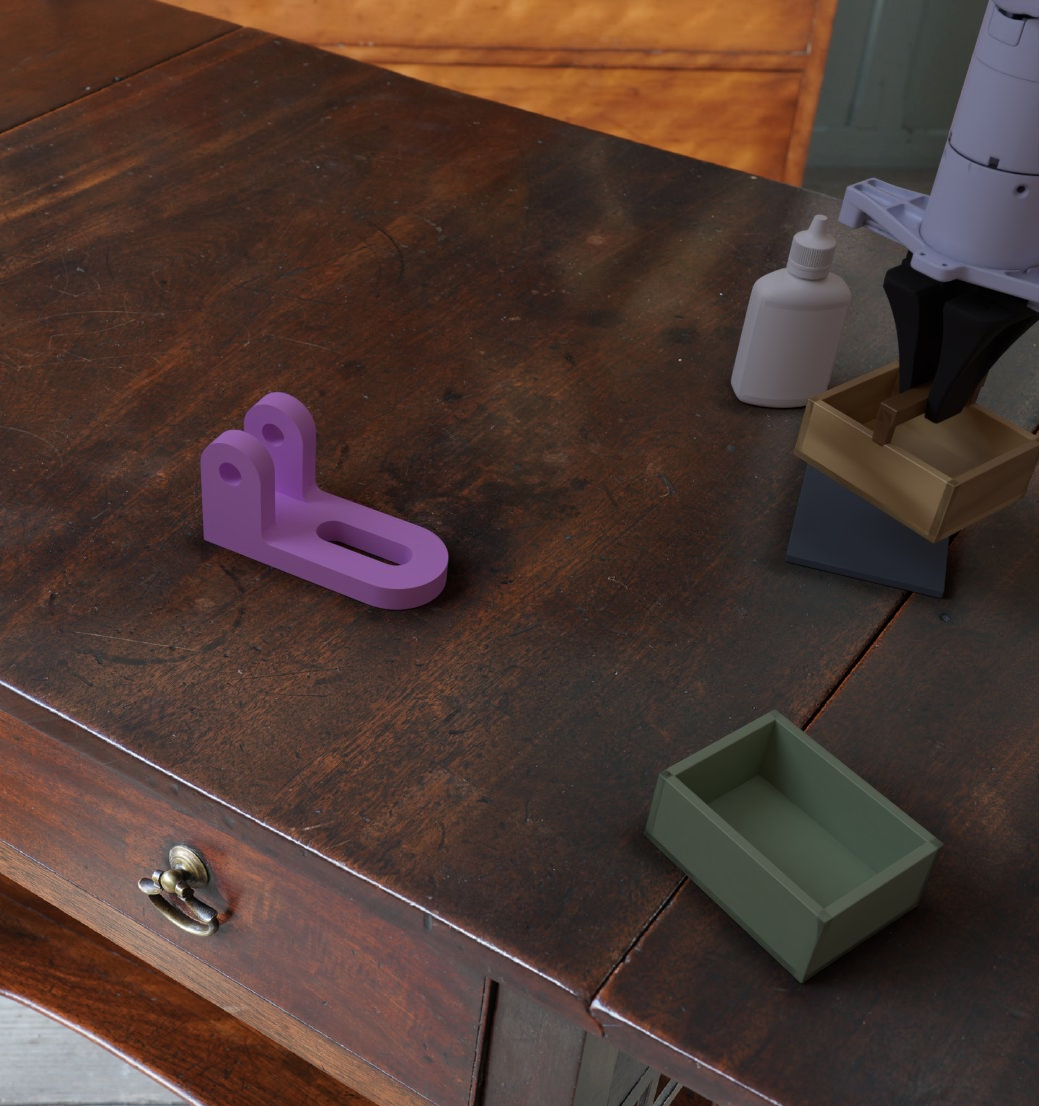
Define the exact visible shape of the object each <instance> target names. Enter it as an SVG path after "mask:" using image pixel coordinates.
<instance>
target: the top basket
mask: <svg viewBox="0 0 1039 1106" xmlns="http://www.w3.org/2000/svg"><path fill="white" fill-rule="evenodd" d="M989 372H990V370H989V371H988V373H987V374H986V375H985V377H984V378H983V379H982V381H981V382H980V383H979V385H978V386H977V388H976V389H975V391H974V392H973V394H972V395H971V397H970V398H969V400H968V401H967V403H966V405H965V406H964V408H963V410H962V412H961V413H959V414H957V415H955V416H953V417H951V418H949V419H947V420H944V421H942V422H940V423H938V424H936V423H933V422H931V421H929V420H927V419H926V418H924V415H925V409H926V403H927V398H928V395H929V392H930V389H931V387H932V384H933V381H934V379H932V380H930V381H928V382H926V383H923V384H921V385H919V386H917V387H914V388H912V389H910V390H908V391H905V392H903V393H901V394H899V359H896V360H895V361H893V362H890V363H887V364H885V365H883V366H881V367H878V368H877V369H874V370H871V371H870V372H867V373H865V374H862V375H860V376H857V377H855V378H853V379H851V380H848V381H846V382H844V383H841V384H839V385H836V386H834V387H832V388H830V389H829V388H828V389H827V391H825V392H822V393H820V394H818V395H815V396H813V397H811V398H809V399H808V401H807V405H806V406H805V409H804V412H803V416H802V420H801V424H800V427H799V431H798V435H797V439H796V443H795V447H794V449H793V452H792V453H793V455H794V456H795V457H797V458H799V459H800V460H802V461H804V462H805V463H806V464H807V463H808V464H810V465H811V466H813V467H814V468H816V469H818V470H819V471H821V472H822V473H824V474H825V475H827V476H829V477H830V478H832V479H833V480H835V481H836V482H838V483H839V484H841V485H843V486H844V487H846V488H847V489H849V490H850V491H852V492H853V493H855V494H857V495H858V496H860V497H861V498H863V499H864V500H866V501H868V502H869V503H871V504H872V505H874V506H875V507H877V508H878V509H880V510H882V511H883V512H885V513H886V514H888V515H889V516H891V517H893V518H894V519H896V520H897V521H899V522H900V523H902V524H903V525H905V526H907V527H908V528H910V529H911V530H913V531H914V532H916V533H918V534H919V535H921V536H922V537H924V538H925V539H927V540H928V541H930V542H932V543H933V544H935V543H937V542H939V541H941V540H942V539H944V538H946V537H948V536H949V537H951V536H952V535H954V534H956V533H958V532H960V531H961V530H964V529H966V528H967V527H970V526H971V525H974V524H975V523H977V522H979V521H981V520H983V519H985V518H987V517H989V516H990V515H993V514H995V513H996V512H998V511H1000V510H1003V509H1005V508H1006V507H1008V506H1010V505H1012V504H1014V503H1016V502H1017V501H1019V500H1022V499H1023V498H1024V497H1025V496H1026V492H1027V490H1028V487H1029V485H1030V482H1031V480H1032V478H1033V475H1034V472H1035V470H1036V468H1037V465H1038V463H1039V437H1038V436H1037V435H1035V434H1034V433H1032V432H1030V431H1028V430H1026V428H1025V429H1024V428H1023V427H1021V426H1019V425H1017V424H1015V423H1014V422H1012V421H1010V420H1009V419H1006V418H1005V417H1003V416H1001V415H999V414H997V413H995V412H993V411H992V410H990V409H988V408H987V407H985V406H983V405H981V404H979V403H977V400H978V397H979V395H980V392H981V389H982V388H983V387H984V386H985V383H986V381H987V378H988V375H989Z"/></svg>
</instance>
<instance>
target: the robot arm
mask: <svg viewBox="0 0 1039 1106" xmlns="http://www.w3.org/2000/svg"><path fill="white" fill-rule="evenodd" d="M951 121H952V122H951V124H950V128H949V132H948V134H947V139H946V143H945V145H944V147H943V148H944V149H943V152H942V155H941V158H940V162H939V165H938V169H937V172H936V175H935V178H934V181H933V184H932V189H931V192H930V195H929V194H926V193H922V192H918V191H914V190H910V189H907V188H904V187H901V186H897V185H895V184H892V183H889V182H886V181H883V180H882V179H879V178H877V177H874V176H873V177H870V178H867V179H864V180H861V181H858V182H856V183H853V184H850V185H848V186H846V189H845V192H844V197H843V200H842V204H841V207H840V211H839V215H838V219H837V222H838V223H840V224H841V225H844V226H846V227H848V228H850V229H852V230H858V229H860V228H866V229H868V230H870V231H872V232H873V233H875V234H877V235H880V236H881V237H883V238H885V239H888V240H890V241H892V242H894V243H896V244H898V245H900V246H902V247H904V248H906V249H907V252H906V255H905V257H904V258H902V260H901V264H898V265H896V266H894V267H891V268H889V269H887V271H886V272H885V275H884V278H883V284H882V288H883V291H884V293H885V295H886V298H887V300H888V303H889V306H890V308H891V309H890V310H891V313H892V317H893V321H894V326H895V330H896V338H897V347H898V360H899V394H901V393H903V392H905V391H908V390H910V389H912V388H914V387H917V386H919V385H921V384H923V383H926V382H928V381H930V380H932V379H934V381H933V384H932V387H931V389H930V392H929V395H928V398H927V403H926V409H925V415H924V418H926V419H927V420H929V421H931V422H933V423H936V424H938V423H940V422H942V421H944V420H947V419H949V418H951V417H953V416H955V415H957V414H959V413H961V412H962V410H963V408H964V406H965V405H966V403H967V401H968V400H969V398H970V397H971V395H972V394H973V392H974V391H975V389H976V388H977V386H978V385H979V383H980V382H981V381H982V379H983V378H984V377H985V375H986V374H987V373H988V371H989V372H990V371H991V369H992V368H993V367H994V366H995V364H996V363H997V362H998V361H999V360H1000V358H1001V357H1002V356H1003V355H1004V354H1005V353H1006V352H1007V351H1008V350H1009V349H1010V348H1011V347H1012V346H1013V345H1014V344H1015V343H1016V342H1017V341H1018V340H1019V339H1020V338H1021V337H1022V336H1023V335H1024V334H1025V333H1026V332H1028V330H1030V329H1031V328H1032V327H1034V325H1035V324H1036V323H1038V322H1039V0H988V2H987V6H986V9H985V12H984V16H983V19H982V22H981V25H980V29H979V32H978V35H977V39H976V43H975V45H974V49H973V51H972V54H971V59H970V62H969V65H968V68H967V71H966V75H965V78H964V82H963V85H962V88H961V92H960V95H959V97H958V101H957V105H956V108H955V110H954V115H953V118H952V120H951ZM988 374H989V373H988Z"/></svg>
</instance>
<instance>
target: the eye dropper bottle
mask: <svg viewBox="0 0 1039 1106" xmlns="http://www.w3.org/2000/svg"><path fill="white" fill-rule="evenodd" d="M837 245H838V243H837V240H836V239H835V238H834V236H832V234H829V233H828V217H827V215H824V214H816V215H815V216H814V217H813V219H812V221H811V223H810V225H809V227H808V229H806V230H801V231H798V232H796V233H795V234H794V235H793V237H792V242H791V246H790V251H789V254H788V259H787V263H786V267H783V268H779V269H777V270H774V271H771V272H769V273H767V274H764V275H763V276H761V277H759V278H758V279H757V280H756V281H755V282H754V283H753V286H752V289H751V292H750V297H749V301H748V304H747V308H746V314H745V318H744V321H743V325H742V330H741V335H740V338H739V343H738V347H737V352H736V357H735V360H734V364H733V368H732V373H731V379H730V385H731V388H732V390H733V393H734V394H735V396H736V398H737V399H738V400H739V401H740V402H742V403H745V404H749V405H753V406H758V407H765V408H776V409H789V408H800V407H806V405H807V401H808V399H809V398H811V397H813V396H815V395H818V394H820V393H822V392H825V391H827V390H828V389H829V384H830V381H831V378H832V373H833V370H834V366H835V362H836V358H837V356H838V352H839V349H840V344H841V341H842V337H843V333H844V329H845V327H846V323H847V319H848V315H849V311H850V306H851V302H852V293H851V290H850V288H849V285H848V284H847V283H846V281H845V280H844V279H843V278H842V277H841V276H839V275H838V274H836V273H834V272H832V271H831V268H832V264H833V261H834V258H835V257H834V256H835V252H836V249H837Z"/></svg>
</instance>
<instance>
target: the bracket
mask: <svg viewBox="0 0 1039 1106" xmlns="http://www.w3.org/2000/svg"><path fill="white" fill-rule="evenodd" d="M316 456H317V427H316V423H315V420H314V418H313V415H312V414H311V412H310V410H308V408H307V407H306V405H304V404H303V402H301V401H300V400H299V399H298V398H296V397H294V396H293V395H291V394H288V393H286V392H280V391H276V392H275V391H274V392H269V393H268V394H266V395H264V396H263V397H262V398H261V399H260V400H259V401H257V402H256V403H255V404H254V405H253V406H252V407H251V408H250V409H249V410H247V412H246V414H245V416H244V419H243V430H240V429H229V430H225V431H223V432H222V433H221V434H219V436H217V437H216V438H214V440H213V441H212V442H210V443H209V444H208V445H207V446H206V447H205V448H204V449H203V451H202V453H201V455H200V462H199V463H200V464H199V465H200V483H201V505H202V525H203V526H202V527H203V540H204V541H206V542H209V543H211V544H214V545H217V546H219V547H221V548H224V549H226V550H228V551H232V552H234V553H236V554H239V555H242V556H244V557H247V558H249V559H251V560H255V561H256V562H260V563H262V564H265V565H267V566H270V567H272V568H275V569H277V570H280V571H282V572H285V573H287V574H289V575H292V576H295V577H298V578H300V579H303V580H305V581H308V582H310V583H312V584H315V585H317V586H321V587H322V588H326V589H328V590H330V591H333V592H335V593H338V594H341V595H343V596H346V597H349V598H351V599H354V600H356V601H359V602H361V603H364V604H366V605H368V606H371V607H374V608H379V609H384V610H393V611H394V610H396V611H397V610H398V611H399V610H408V609H409V610H410V609H414V608H418V607H422V606H424V605H426V604H428V603H430V602H432V601H433V600H435V599H436V598H437V597H438V596H439V595H441V594H442V592H443V590H444V588H445V586H446V584H447V578H448V567H449V565H448V564H449V551H448V548H447V547H446V545H445V543H444V541H443V540H442V539H441V538H440V537H439V536H437V534H435V533H433V532H432V531H431V530H429V529H426V528H425V527H423V526H420V525H417V524H415V523H411V522H409V521H407V520H403V519H400V518H398V517H395V516H393V515H391V514H386V513H384V512H381V511H379V510H376V509H374V508H370V507H368V506H366V505H362V504H359V503H356V502H354V501H352V500H348V499H346V498H343V497H340V496H338V495H335V494H332V493H329V492H327V491H324V490H322V489H321V488H319V486H318V485H317V482H316V463H317V461H316V460H317V457H316ZM332 542H338V543H343V544H344V545H347V546H350V547H352V548H355V549H358V550H360V551H364V552H366V553H368V554H372V555H374V556H377V557H379V558H381V559H383V560H387V561H389V562H392V563H395V564H398V565H393V564H388V563H385V562H382V561H380V560H377V559H375V558H372V557H369V556H366V555H364V554H361V553H359V552H356V551H353V550H351V549H348V548H346V547H343V546H340V545H338V544H335V543H332Z"/></svg>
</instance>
